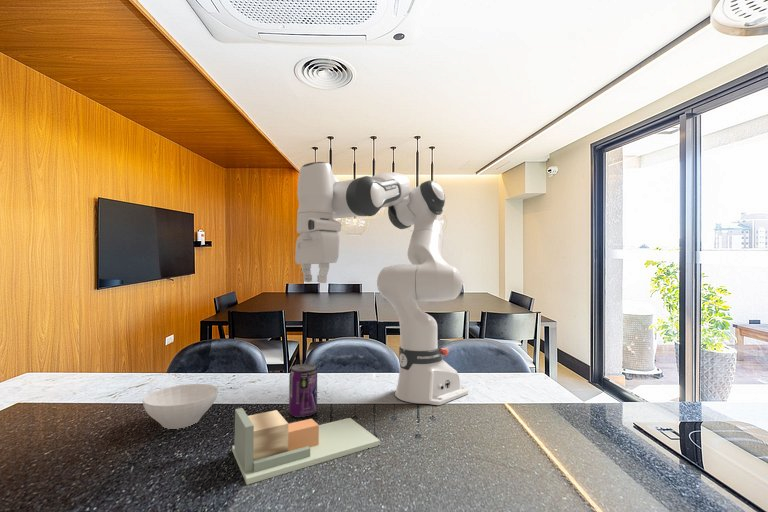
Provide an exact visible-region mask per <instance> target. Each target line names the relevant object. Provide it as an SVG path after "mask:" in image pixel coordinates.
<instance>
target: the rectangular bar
mask: <svg viewBox="0 0 768 512" xmlns="http://www.w3.org/2000/svg"><path fill="white" fill-rule="evenodd" d="M319 425H320V424H318V422H316V421H315V420H314V419H313V418H309V419H304V420H299V421H294V422H291V423H288V451H292V450H295V449H299V448H303V447H307V446H309V447H313V446H316V445H319Z"/></svg>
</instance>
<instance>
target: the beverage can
mask: <svg viewBox="0 0 768 512" xmlns="http://www.w3.org/2000/svg"><path fill="white" fill-rule="evenodd" d="M288 379H289V380H288V381H289V382H288V383H289V385H288V388H289V390H288V395H289V396H288V413H289V414H290V415H291V416H294V417H295V416H296V417H295V418H300V417H302V418H306V417H305V416H308V417H310V416H312V415H314V414H315V413H317V411H318V371H317V369H316V365H314V364H311V363H310V364H309V363H301V364H295V365H292V366H291V371H290V372H289V378H288ZM309 415H310V416H309Z"/></svg>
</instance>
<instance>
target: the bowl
mask: <svg viewBox="0 0 768 512" xmlns="http://www.w3.org/2000/svg"><path fill="white" fill-rule="evenodd" d="M218 392H219V388H218V387H217V386H215V385H212V384H207V383H190V384H189V383H188V384H180V385H174V386H169V387H166V388H162V389H159V390H155V391H153V392H151V393H148V394H147V395H146V396H144V397H143V399H142V404H143V407H144V410H145V412H146V414H147V415H148V416H150V417H151V418H152V419H153V420H155V421H156V422H158V423H159V424H160V426H161V427H162V428H163V427H164V429H165V428H168V429H167V430H169V429H177V430H180V429H179V428H183V429H186V428H185V427H187V428H189V427H188V426H190V427H192V426H191V425H193V424H195V423H196V424H198V422H200V420H201V419H202V417H203V416H204V415H205V414H206V412H207V411H208V410H210V408H211V407H212V405H213V404H214V403H215V401H216V399H217V397H218V395H219V393H218ZM196 424H195V425H196ZM193 426H194V425H193Z"/></svg>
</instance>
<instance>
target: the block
mask: <svg viewBox="0 0 768 512" xmlns="http://www.w3.org/2000/svg"><path fill="white" fill-rule="evenodd" d="M247 416H248V417H249V419H250V420H251V422H252V424H253V425H254V440H253V461H254V460H258V459H262V458H265V457H269V456H273V455H277V454H280V453H284V452H288V424H289V422H288V421H287V420H286V419H285V418H284V416H282V414H281V413H280V412H279V411H278V410H277V409H275V410H270V411H266V412H265V411H264V412H259V413H255V414H251V415H247Z"/></svg>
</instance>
